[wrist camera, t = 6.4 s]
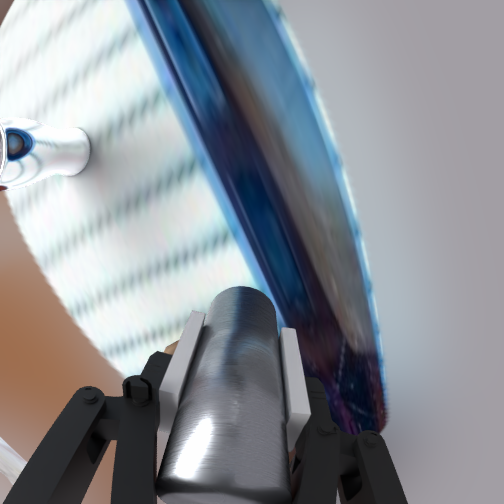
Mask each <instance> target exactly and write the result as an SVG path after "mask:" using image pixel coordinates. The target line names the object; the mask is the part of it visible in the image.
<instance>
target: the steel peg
mask: <svg viewBox="0 0 504 504" xmlns="http://www.w3.org/2000/svg"><path fill="white" fill-rule="evenodd" d="M155 491H156V494H157V495H158V497H160V499H161V500H162V501H164V502H165V503H166V504H291V503H292V494H291V480H290V467H289V454H288V441H287V429H286V417H285V405H284V394H283V383H282V372H281V361H280V351H279V341H278V330H277V320H276V311H275V308H274V305H273V303H272V302H271V300H270V299H269V298H268V297H267V296H266V295H265V294H264V293H262V292H261V291H259V290H257V289H254V288H250V287H245V286H238V287H232V288H229V289H226V290H224V291H222V292H221V293H220V294H218V295H217V296H216V297H215V299H214V300H213V301H212V303H211V306H210V308H209V311H208V314H207V317H206V320H205V324H204V327H203V330H202V333H201V336H200V339H199V343H198V346H197V349H196V352H195V355H194V358H193V361H192V364H191V368H190V371H189V374H188V377H187V380H186V384H185V387H184V390H183V393H182V396H181V400H180V403H179V406H178V409H177V412H176V415H175V418H174V422H173V425H172V428H171V432H170V435H169V439H168V442H167V445H166V449H165V452H164V455H163V459H162V462H161V466H160V469H159V472H158V476H157V479H156V483H155Z"/></svg>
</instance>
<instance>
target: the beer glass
mask: <svg viewBox="0 0 504 504" xmlns="http://www.w3.org/2000/svg"><path fill="white" fill-rule="evenodd" d="M89 156H90V142H89V139H88V137H87V135H86V134H85V133H84V132H83V131H82V130H80V129H78V128H68V129H64V130H59V129H55V128H53V127H50V126H48V125H45V124H43V123H40V122H37V121H34V120H31V119H24V118H0V191H7V190H13V189H18V188H22V187H26V186H28V185H31V184H34V183H36V182H38V181H40V180H43V179H45V178H47V177H49V176H52V175H55V174H59V175H64V176H73V175H76V174H78V173H79V172H80V171H82V170H83V168H84V167H85V166H86V164H87V162H88V159H89Z"/></svg>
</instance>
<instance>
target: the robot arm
mask: <svg viewBox="0 0 504 504" xmlns="http://www.w3.org/2000/svg"><path fill="white" fill-rule="evenodd" d="M204 320H205V313H202V312H197V311H192V312H191V314H190V317H189V319H188V321H187V323H186V326H185V328H184V331H183V333H182V335H181V338H180V340H179V342H178V345H177V347H176V349H175V352H174V354H173V355H171V354H167V353H163V352H159V351H157V352H155V353H154V354H152V355H151V356H150V357H149V359H148V361H147V364H146V365H145V367H144V370H143V371H142V373H141V375H134V376H130V377H128V378H126V379H125V380H124V382H123V384H122V386H123V396H121V397H111V396H104V393H103V392H102V391H101V390H100V389H98V388H96V387H92V386H86V387H82V388H80V389H79V390H77V391H76V393H75V394H74V395H73V397H72V398H71V399H70V401H69V403H68V404H67V405H66V406H65V408H64V409H63V411H62V412H61V414H60V415H59V417H58V418H57V419H56V421H55V422H54V424H53V425H52V427H51V428H50V429H49V431H48V432H47V434H46V435H45V437H44V438H43V440H42V441H41V443H40V445H39V446H38V447H37V449H36V451H35V452H34V454H33V455H32V457H31V458H30V460H29V461H28V463H27V464H26V466H25V468H24V469H23V471H22V472H21V474H20V475H19V477H18V479H17V480H16V482H15V484H14V485H13V487H12V489H11V490H10V492H9V494H8V495H7V497H6V499H5V501H4V502H3V504H81V502H82V500H83V498H84V496H85V494H86V492H87V489H88V487H89V485H90V483H91V481H92V479H93V477H94V475H95V472H96V470H97V468H98V466H99V464H100V462H101V460H102V458H103V455H104V453H105V451H106V450H107V448H108V446H109V444H110V441H111V440H117V445H116V453H115V462H114V471H113V481H112V491H111V504H157V494H156V491H155V483H156V479H157V471H156V470H157V431H158V428H159V430H160V431H163V432H167V433H170V432H171V428H172V425H173V422H174V418H175V415H176V412H177V409H178V406H179V403H180V400H181V396H182V393H183V390H184V387H185V384H186V380H187V377H188V374H189V371H190V368H191V364H192V361H193V358H194V355H195V352H196V349H197V346H198V343H199V339H200V336H201V333H202V330H203V327H204ZM278 341H279V351H280V361H281V372H282V383H283V394H284V405H285V417H286V429H287V441H288V451H290V452H292V450H293V448H294V446H295V448H296V454H295V456H294V457H293V459H292V461H291V463H290V464H289V467H290V468H291V470H290V480H291V494H292V503H291V504H336V496H337V488H338V493H339V497H340V502H341V504H408V503H407V500H406V497H405V494H404V491H403V489H402V486H401V483H400V480H399V478H398V475H397V472H396V470H395V467H394V464H393V462H392V459H391V456H390V454H389V451H388V449H387V446H386V444H385V441H384V439H383V438H382V436H381V435H380V434H378V433H377V432H374V431H369V430H367V431H362V432H361V433H360V434H359V435H358V436H356V435H352V434H348V433H345V432H342V431H340V428H339V427H338V425H337V424H336V423H334V422H333V421H332V419H331V415H330V411H329V407H328V403H327V400H326V395H325V391H324V387H323V384H322V383H321V382H320V380H319V379H318V378H312V377H304V373H303V367H302V362H301V357H300V352H299V346H298V341H297V336H296V331H295V329H291V328H285V327H282V329H281V333H280V336H279V340H278Z"/></svg>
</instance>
